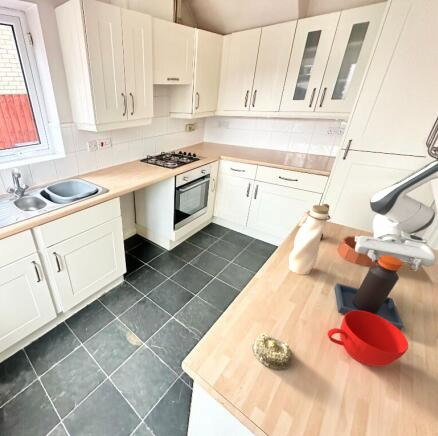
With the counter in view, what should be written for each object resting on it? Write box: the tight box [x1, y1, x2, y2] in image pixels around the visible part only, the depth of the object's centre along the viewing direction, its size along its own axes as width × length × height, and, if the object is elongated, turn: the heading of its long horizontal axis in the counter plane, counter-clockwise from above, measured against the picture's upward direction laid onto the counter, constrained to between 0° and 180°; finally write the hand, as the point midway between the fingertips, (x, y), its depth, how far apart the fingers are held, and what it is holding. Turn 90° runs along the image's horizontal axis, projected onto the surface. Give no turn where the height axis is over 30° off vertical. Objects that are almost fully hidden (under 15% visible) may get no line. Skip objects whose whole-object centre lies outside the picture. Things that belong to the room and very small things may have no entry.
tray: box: [334, 282, 405, 332], centre depth 81 cm, size 16×13×3 cm
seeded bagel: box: [252, 332, 292, 371], centre depth 68 cm, size 10×10×5 cm
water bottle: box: [288, 204, 331, 276], centre depth 94 cm, size 10×9×28 cm
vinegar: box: [352, 255, 404, 314], centre depth 77 cm, size 7×7×20 cm
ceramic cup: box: [327, 310, 409, 367], centre depth 66 cm, size 13×17×10 cm
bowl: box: [337, 235, 380, 267], centre depth 105 cm, size 14×14×6 cm
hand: (394, 264), depth 82 cm, fingers open, 8 cm apart
